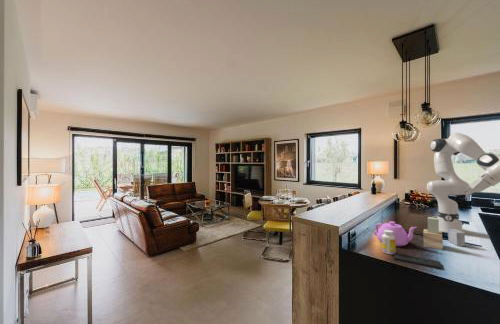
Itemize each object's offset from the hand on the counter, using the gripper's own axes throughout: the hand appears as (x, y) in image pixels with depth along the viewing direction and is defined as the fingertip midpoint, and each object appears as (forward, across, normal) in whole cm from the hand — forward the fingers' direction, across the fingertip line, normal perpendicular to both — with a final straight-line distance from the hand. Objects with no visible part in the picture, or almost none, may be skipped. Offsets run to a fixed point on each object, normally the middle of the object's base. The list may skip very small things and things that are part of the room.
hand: (465, 193), depth 135 cm
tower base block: (+35, +10, +13) cm, 39 cm away
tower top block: (+32, +10, +9) cm, 35 cm away
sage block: (+28, +10, +6) cm, 31 cm away
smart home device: (+40, +44, +8) cm, 60 cm away
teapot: (+49, +19, -1) cm, 52 cm away
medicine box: (+27, -3, +21) cm, 34 cm away
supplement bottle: (+49, +40, -1) cm, 63 cm away
